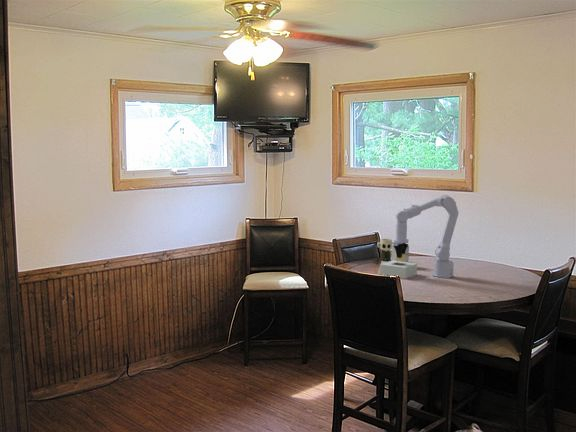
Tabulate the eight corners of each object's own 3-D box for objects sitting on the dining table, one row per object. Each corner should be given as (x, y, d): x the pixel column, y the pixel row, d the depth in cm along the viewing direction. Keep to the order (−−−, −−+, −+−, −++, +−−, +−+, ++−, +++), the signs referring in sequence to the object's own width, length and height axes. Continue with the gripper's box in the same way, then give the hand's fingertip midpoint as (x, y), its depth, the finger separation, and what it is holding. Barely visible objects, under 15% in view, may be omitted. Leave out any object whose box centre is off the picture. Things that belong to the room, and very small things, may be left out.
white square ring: (416, 274, 345) (417, 263, 344) (405, 278, 333) (405, 267, 332) (392, 270, 354) (392, 260, 353) (380, 275, 342) (380, 264, 341)
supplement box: (400, 268, 362) (401, 246, 360) (390, 265, 367) (391, 244, 366) (408, 266, 366) (409, 245, 365) (399, 264, 372) (399, 243, 370)
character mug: (377, 261, 381) (377, 240, 379) (376, 259, 388) (376, 238, 387) (395, 261, 380) (395, 240, 379) (393, 259, 388) (394, 238, 386)
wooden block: (405, 260, 341) (405, 253, 341) (402, 261, 339) (403, 254, 338) (398, 260, 344) (398, 252, 343) (396, 260, 341) (396, 253, 341)
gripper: (400, 230, 348) (399, 254, 349) (388, 233, 336) (387, 258, 338) (412, 231, 344) (411, 256, 345) (400, 234, 332) (399, 259, 333)
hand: (400, 257), depth 341 cm, fingers closed on wooden block, 3 cm apart
